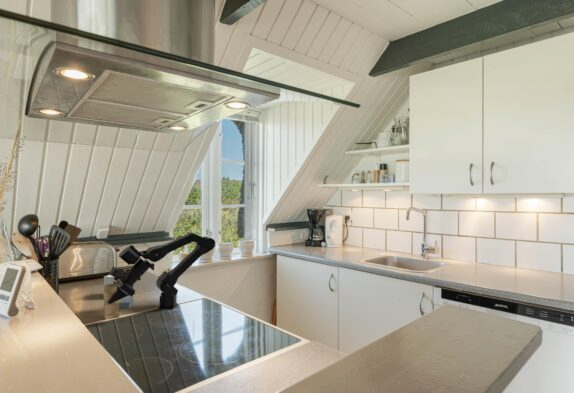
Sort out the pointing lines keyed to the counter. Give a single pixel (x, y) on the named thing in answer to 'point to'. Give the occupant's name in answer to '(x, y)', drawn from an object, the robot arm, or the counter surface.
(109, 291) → the oak pillar
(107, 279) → the small box
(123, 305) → the slate base block
